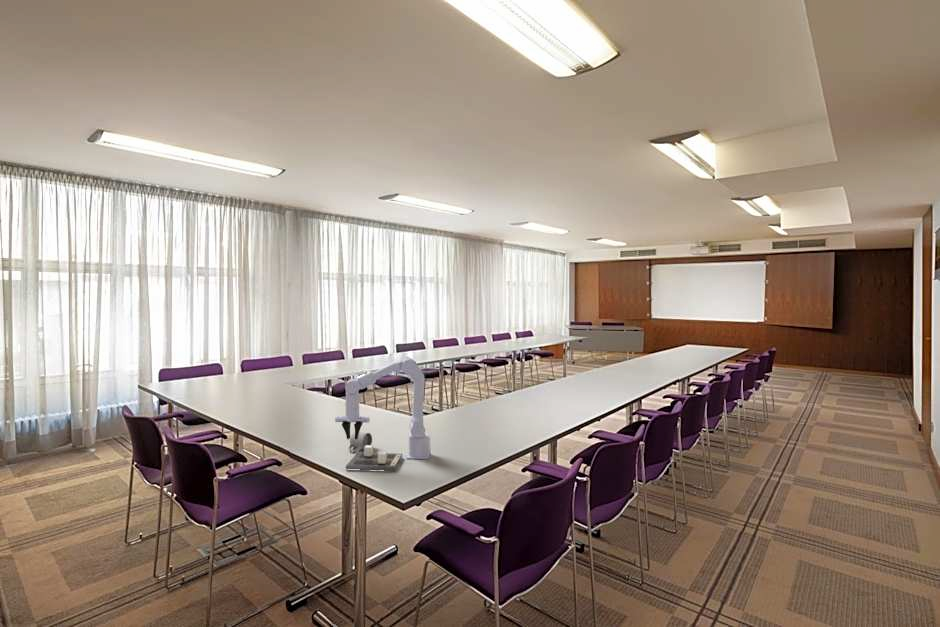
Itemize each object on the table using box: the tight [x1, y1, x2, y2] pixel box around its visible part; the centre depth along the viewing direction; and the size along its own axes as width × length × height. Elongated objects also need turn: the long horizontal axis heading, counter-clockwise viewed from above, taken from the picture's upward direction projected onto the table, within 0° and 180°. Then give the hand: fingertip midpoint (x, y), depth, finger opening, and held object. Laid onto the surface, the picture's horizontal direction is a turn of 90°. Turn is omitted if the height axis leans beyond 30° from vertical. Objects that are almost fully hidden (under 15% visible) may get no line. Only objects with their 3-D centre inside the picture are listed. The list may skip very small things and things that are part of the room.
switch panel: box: [345, 452, 403, 472], centre depth 196 cm, size 20×16×2 cm
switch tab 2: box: [377, 451, 388, 463], centre depth 192 cm, size 3×3×4 cm
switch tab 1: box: [363, 444, 374, 456], centre depth 201 cm, size 3×3×4 cm
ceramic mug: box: [348, 431, 373, 453], centre depth 215 cm, size 11×8×8 cm
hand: (352, 438), depth 201 cm, fingers open, 3 cm apart
